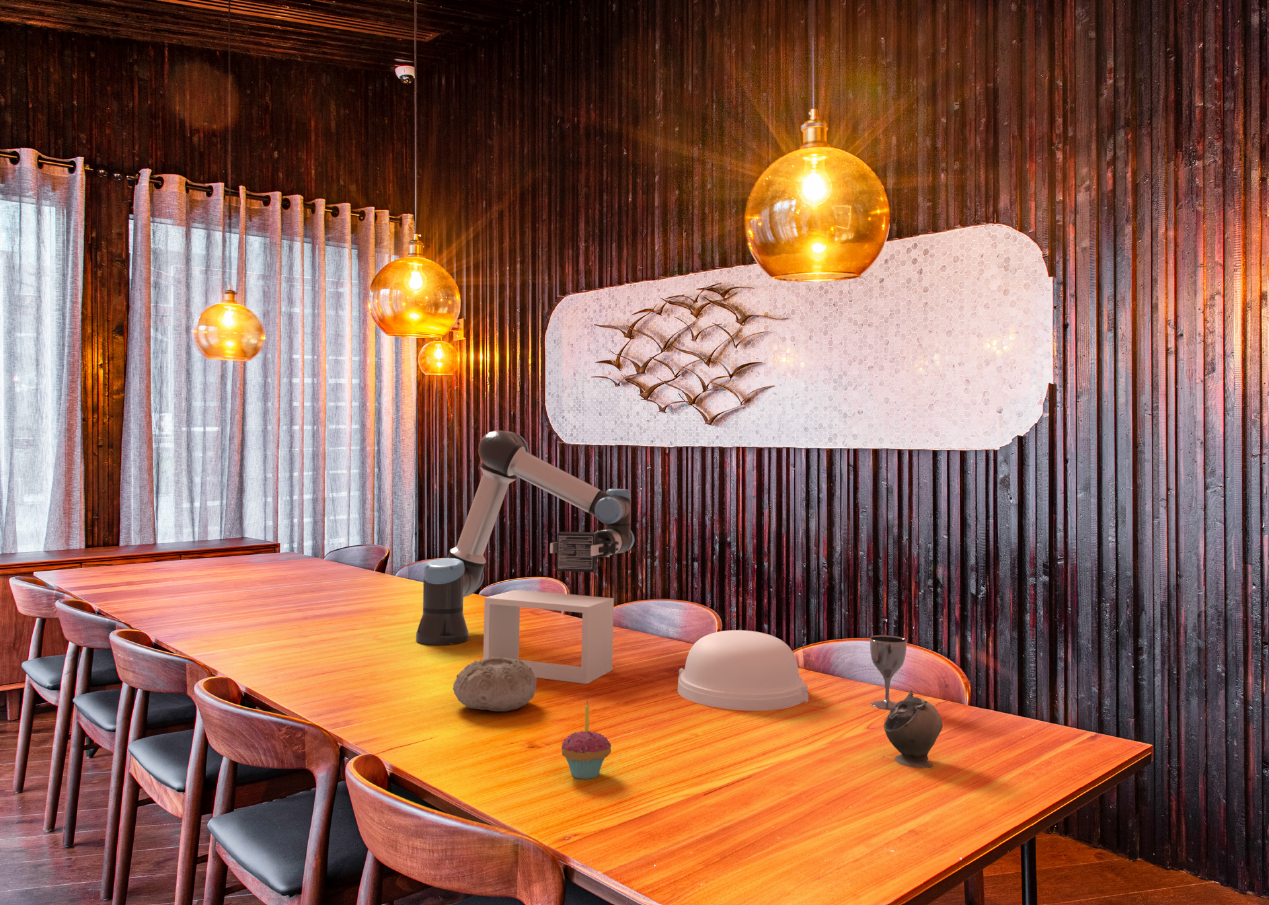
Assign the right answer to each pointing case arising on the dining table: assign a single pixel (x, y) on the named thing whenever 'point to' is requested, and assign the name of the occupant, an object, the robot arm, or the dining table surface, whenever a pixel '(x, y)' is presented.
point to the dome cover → (742, 672)
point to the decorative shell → (495, 684)
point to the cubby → (595, 617)
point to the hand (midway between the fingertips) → (571, 549)
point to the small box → (576, 551)
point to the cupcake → (585, 751)
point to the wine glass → (887, 661)
